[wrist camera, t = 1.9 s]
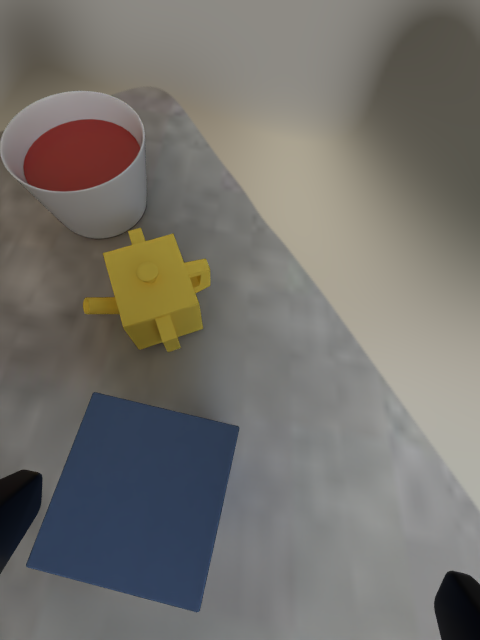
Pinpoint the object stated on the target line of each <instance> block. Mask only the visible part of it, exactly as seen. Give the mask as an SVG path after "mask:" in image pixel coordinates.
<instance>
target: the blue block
mask: <svg viewBox="0 0 480 640" xmlns="http://www.w3.org/2000/svg"><path fill="white" fill-rule="evenodd" d="M238 432H239V427H238V426H235V425H230V424H226V423H222V422H218V421H214V420H210V419H205V418H201V417H197V416H193V415H189V414H184V413H180V412H176V411H172V410H168V409H163V408H159V407H155V406H151V405H147V404H143V403H138V402H134V401H130V400H126V399H122V398H117V397H113V396H109V395H105V394H101V393H96V392H94V393H93V394H92V397H91V399H90V402H89V404H88V407H87V410H86V412H85V415H84V417H83V420H82V422H81V425H80V428H79V430H78V433H77V435H76V438H75V440H74V443H73V446H72V448H71V451H70V453H69V456H68V458H67V461H66V464H65V466H64V469H63V471H62V474H61V476H60V479H59V481H58V484H57V487H56V489H55V492H54V494H53V497H52V499H51V502H50V505H49V507H48V510H47V512H46V515H45V517H44V520H43V523H42V525H41V528H40V530H39V533H38V535H37V538H36V541H35V543H34V546H33V548H32V551H31V553H30V556H29V558H28V561H27V564H26V567H28V568H32V569H36V570H40V571H43V572H47V573H51V574H55V575H59V576H62V577H66V578H70V579H74V580H77V581H81V582H85V583H89V584H92V585H96V586H100V587H104V588H107V589H111V590H115V591H119V592H123V593H126V594H130V595H134V596H138V597H141V598H145V599H149V600H153V601H156V602H160V603H164V604H168V605H171V606H175V607H179V608H183V609H187V610H190V611H194V612H199V611H200V607H201V603H202V598H203V594H204V589H205V584H206V580H207V575H208V571H209V566H210V561H211V557H212V552H213V548H214V543H215V538H216V534H217V529H218V524H219V520H220V515H221V511H222V506H223V501H224V497H225V492H226V488H227V483H228V478H229V474H230V469H231V465H232V460H233V455H234V451H235V446H236V442H237V437H238Z"/></svg>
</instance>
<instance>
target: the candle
mask: <svg viewBox="0 0 480 640" xmlns="http://www.w3.org/2000/svg"><path fill="white" fill-rule="evenodd" d="M0 155H1V159H2V161H3V164H4V166H5V167H6V169H7V170H8V172H9V173H10V174H11V175H12V176H13V177H14V178H15V179H16V180H17V181H18V182H19V183H20V184H21V185H22V186H23V187H24V188H25V189H26V190H28V191H29V192H30V193H31V194H32V195H33V196H34V197H35V198H36V199H37V200H38V201H39V202H40V203H41V204H42V205H43V206H44V207H45V208H46V209H48V210H49V211H50V212H51V213H52V214H53V215H54V216H55V217H56V218H57V219H58V220H59V221H60V222H61V223H63V224H64V225H65V226H66V227H67V228H68V229H70V230H71V231H73V232H74V233H76V234H78V235H81V236H84V237H88V238H95V239H102V238H109V237H114V236H117V235H119V234H122V233H124V232H126V231H127V230H129V229H130V228H132V227H133V226H134V225H135V224H136V223H137V222H138V221H139V220H140V219H141V217H142V215H143V213H144V211H145V208H146V203H147V177H146V148H145V131H144V126H143V123H142V121H141V119H140V117H139V116H138V114H137V113H136V112H135V111H134V109H132V108H131V107H130V106H129V105H128V104H126V103H125V102H123V101H122V100H120V99H118V98H116V97H113V96H110V95H107V94H103V93H99V92H92V91H71V92H63V93H58V94H55V95H51V96H48V97H45V98H43V99H40V100H38V101H36V102H34V103H32V104H31V105H29V106H27V107H26V108H24V109H23V110H21V111H20V112H19V113H18V114H17V115H16V116H15V117H14V118H13V119H12V120H11V121H10V122H9V124H8V125H7V127H6V129H5V130H4V132H3V135H2V138H1V142H0Z"/></svg>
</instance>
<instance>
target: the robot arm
mask: <svg viewBox="0 0 480 640" xmlns="http://www.w3.org/2000/svg"><path fill="white" fill-rule="evenodd" d="M41 498H42V475H41V474H40V473H38V472H34V471H30V470H20V471H18V472H16V473H13V474H11V475H9V476H7V477H4V478H2V479H0V574H1V572H2V570H3V569H4V567H5V566H6V564H7V562H8V561H9V559H10V557H11V556H12V554H13V553H14V551H15V549H16V548H17V546H18V545H19V543H20V541H21V540H22V538H23V536H24V535H25V533H26V532H27V530H28V528H29V527H30V525H31V524H32V522H33V520H34V519H35V517H36V515H37V514H38V511H39V509H40V506H41ZM434 609H435V614H436V619H437V623H438V627H439V631H440V635H441V639H442V640H480V584H479V583H478V582H477V581H476V580H475V579H474V578H472V577H471V576H470V575H467V574H464V573H460V572H455V571H449V572H447V573H446V575H445V577H444V579H443V581H442V583H441V586H440V588H439V590H438V592H437V594H436V597H435V601H434Z"/></svg>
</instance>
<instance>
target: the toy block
mask: <svg viewBox="0 0 480 640" xmlns="http://www.w3.org/2000/svg"><path fill="white" fill-rule="evenodd" d="M128 233H129V237H130V240H131V243H132V245H130V246H127V247H123V248H120V249H116V250H113V251H109V252H105V253H103V256H104V260H105V263H106V267H107V270H108V274H109V278H110V281H111V285H112V289H113V292H114V296H115V297H86V298H85V299H84V302H83V310H84V313H85V314H120V318H121V321H122V325H123V328H124V330H125V331H126V333H127V334H128V335H129V337H130V338H131V339H132V341H133V342H134V344H135V345H136V346H137V348H138V349H139V350H141V349H144V348H147V347H150V346H153V345H156V344H159V343H162V342H163V344H164V346H165V348H166V350H167V352H170V351H173V350H176V349H179V348H181V347H180V343H179V340H178V337H180V336H183V335H186V334H189V333H192V332H195V331H198V330H201V329H203V325H202V318H201V312H200V305H199V302H198V299H197V296H196V294H195V293H197V292H199V291H201V290H203V289H205V288H207V287H209V286H210V268H209V265H208V263H207V260H206V259H201V260H196V261H190V262H185V263H184V261H183V259H182V256H181V253H180V251H179V248H178V245H177V242H176V240H175V237H174V234H170V235H166V236H163V237H159V238H155V239H152V240H148V241H145V238H144V235H143V232H142V230H141V228H138V229H134V230H130V231H128Z"/></svg>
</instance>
